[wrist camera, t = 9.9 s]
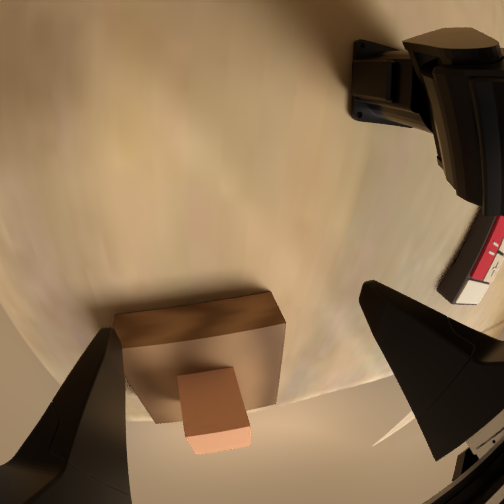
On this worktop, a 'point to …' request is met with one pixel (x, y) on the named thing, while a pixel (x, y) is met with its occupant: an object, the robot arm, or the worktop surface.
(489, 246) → the red white black box
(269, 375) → the walnut base
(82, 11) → the worktop surface
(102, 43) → the worktop surface
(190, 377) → the terracotta block
